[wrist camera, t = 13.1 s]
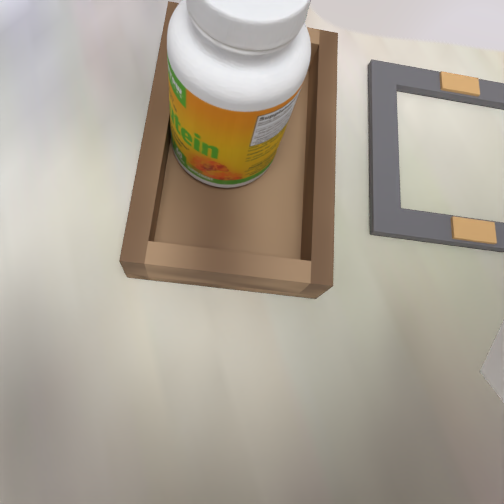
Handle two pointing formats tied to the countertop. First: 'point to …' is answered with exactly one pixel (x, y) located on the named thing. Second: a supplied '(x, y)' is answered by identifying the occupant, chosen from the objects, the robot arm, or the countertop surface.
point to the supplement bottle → (234, 84)
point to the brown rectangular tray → (241, 199)
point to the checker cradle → (387, 156)
